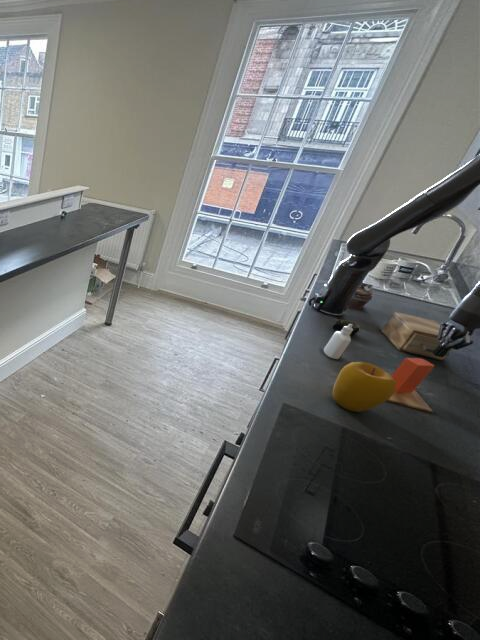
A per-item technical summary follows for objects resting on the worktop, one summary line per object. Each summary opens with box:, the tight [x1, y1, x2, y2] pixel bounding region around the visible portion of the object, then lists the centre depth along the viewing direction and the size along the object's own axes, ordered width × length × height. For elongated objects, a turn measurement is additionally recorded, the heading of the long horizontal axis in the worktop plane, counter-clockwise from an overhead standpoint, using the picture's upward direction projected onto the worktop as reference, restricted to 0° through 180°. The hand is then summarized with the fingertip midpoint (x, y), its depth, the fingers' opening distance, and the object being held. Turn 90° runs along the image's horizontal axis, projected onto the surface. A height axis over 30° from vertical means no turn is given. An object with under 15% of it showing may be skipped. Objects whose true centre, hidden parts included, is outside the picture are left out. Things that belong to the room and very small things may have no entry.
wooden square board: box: [386, 389, 434, 413], centre depth 118 cm, size 12×14×1 cm
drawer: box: [403, 333, 453, 360], centre depth 139 cm, size 18×11×6 cm, turn 156°
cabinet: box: [381, 311, 443, 361], centre depth 142 cm, size 15×12×8 cm
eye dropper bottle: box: [323, 324, 353, 360], centre depth 130 cm, size 4×6×12 cm
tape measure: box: [332, 319, 360, 337], centre depth 147 cm, size 7×7×4 cm
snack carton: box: [390, 357, 436, 393], centre depth 116 cm, size 4×6×10 cm, turn 96°
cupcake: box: [346, 281, 374, 310], centre depth 169 cm, size 10×10×10 cm
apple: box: [332, 361, 396, 413], centre depth 107 cm, size 11×11×13 cm
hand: (437, 355), depth 131 cm, fingers closed
